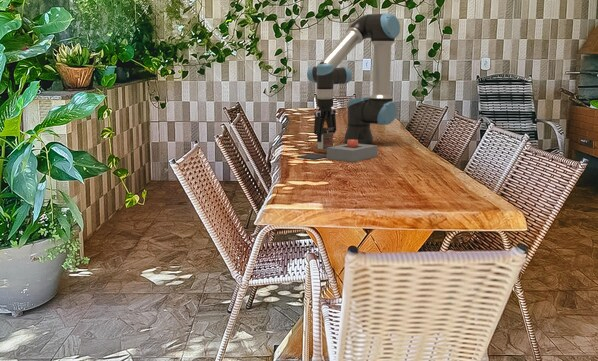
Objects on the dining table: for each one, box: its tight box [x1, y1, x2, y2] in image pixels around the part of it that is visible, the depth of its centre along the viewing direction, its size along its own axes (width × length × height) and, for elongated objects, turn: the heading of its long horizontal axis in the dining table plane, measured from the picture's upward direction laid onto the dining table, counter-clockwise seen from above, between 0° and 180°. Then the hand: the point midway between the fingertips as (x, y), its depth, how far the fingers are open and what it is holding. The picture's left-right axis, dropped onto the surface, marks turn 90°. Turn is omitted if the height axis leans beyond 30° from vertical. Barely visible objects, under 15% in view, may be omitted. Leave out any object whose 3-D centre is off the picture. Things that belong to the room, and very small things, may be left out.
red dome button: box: [346, 139, 358, 148], centre depth 313 cm, size 5×5×5 cm
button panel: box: [326, 143, 379, 163], centre depth 314 cm, size 20×14×5 cm
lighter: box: [316, 127, 335, 151], centre depth 325 cm, size 8×3×10 cm, turn 105°
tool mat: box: [296, 152, 327, 161], centre depth 315 cm, size 12×10×1 cm
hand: (325, 147), depth 326 cm, fingers closed on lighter, 7 cm apart
